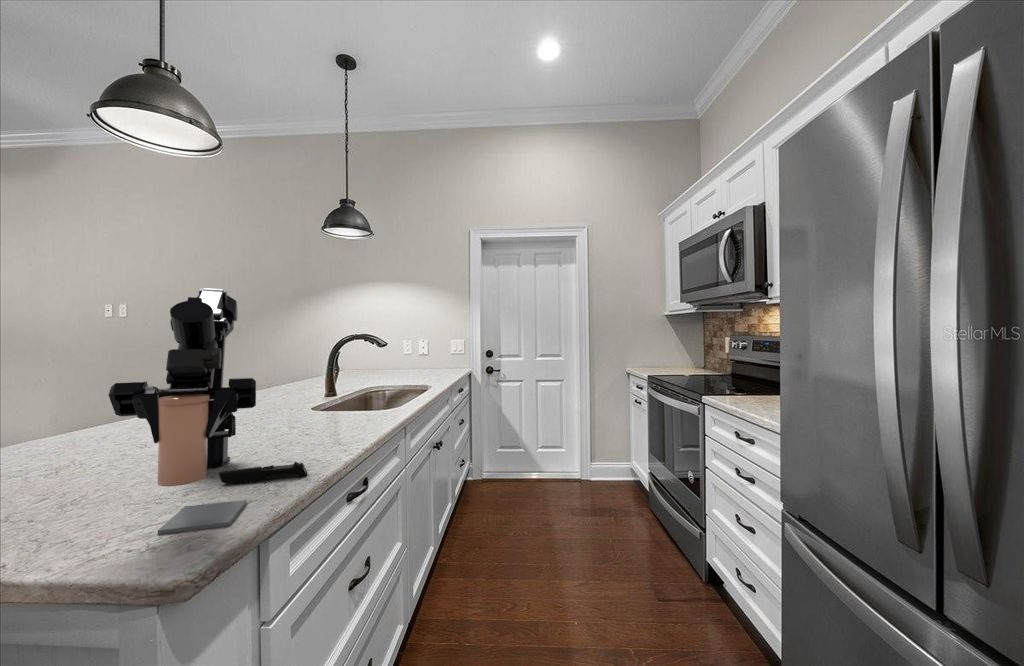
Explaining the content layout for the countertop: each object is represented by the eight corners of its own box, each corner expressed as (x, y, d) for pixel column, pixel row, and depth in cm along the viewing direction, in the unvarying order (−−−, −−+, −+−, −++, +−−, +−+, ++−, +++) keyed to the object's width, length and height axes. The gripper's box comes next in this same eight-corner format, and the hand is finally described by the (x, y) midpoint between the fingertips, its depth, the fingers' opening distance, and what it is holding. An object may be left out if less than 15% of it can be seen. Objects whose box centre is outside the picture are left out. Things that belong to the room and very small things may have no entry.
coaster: (246, 503, 70) (246, 499, 71) (229, 525, 62) (229, 521, 62) (184, 509, 68) (184, 506, 68) (157, 534, 59) (157, 530, 59)
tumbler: (210, 470, 67) (212, 393, 68) (204, 482, 62) (206, 398, 62) (162, 476, 64) (164, 395, 64) (150, 489, 59) (152, 401, 59)
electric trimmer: (221, 483, 81) (221, 468, 81) (307, 472, 88) (307, 458, 88) (216, 490, 78) (216, 474, 78) (306, 478, 84) (306, 463, 84)
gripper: (114, 330, 62) (83, 414, 52) (257, 332, 72) (253, 403, 62) (128, 376, 69) (103, 458, 59) (257, 373, 78) (254, 442, 69)
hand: (182, 439), depth 62 cm, fingers closed on tumbler, 6 cm apart
